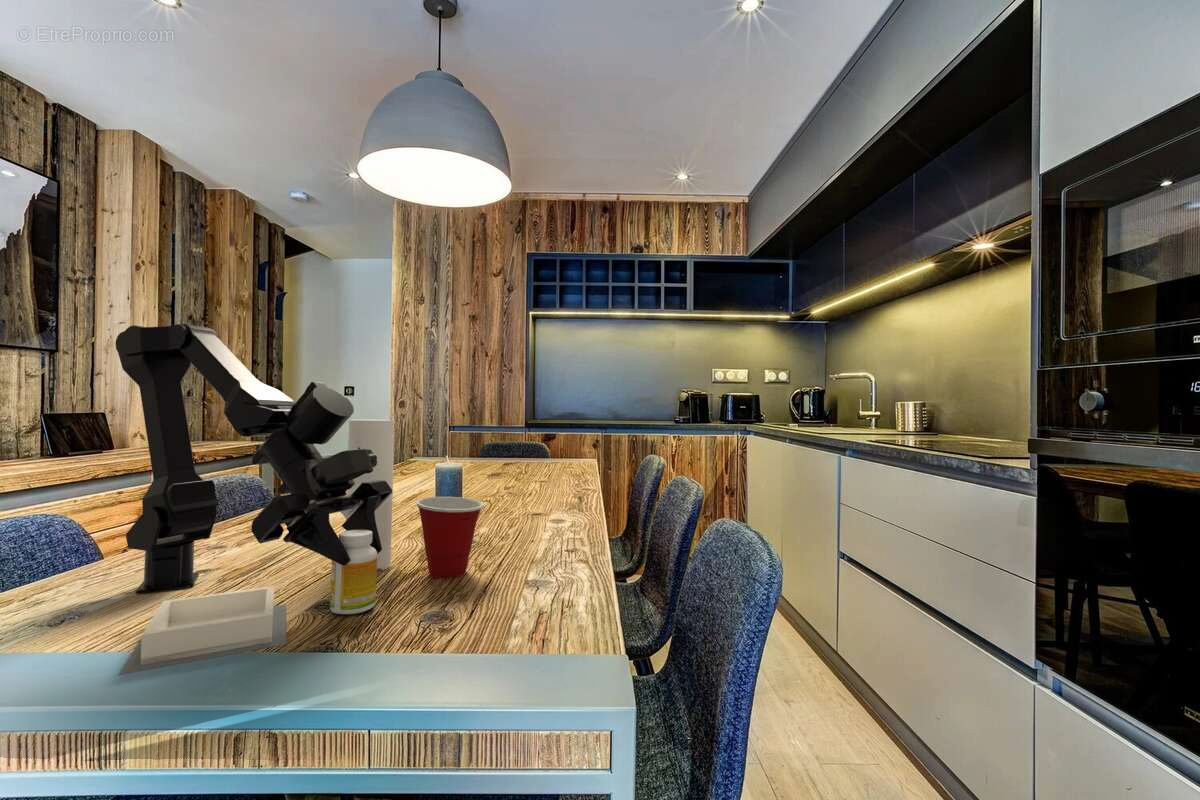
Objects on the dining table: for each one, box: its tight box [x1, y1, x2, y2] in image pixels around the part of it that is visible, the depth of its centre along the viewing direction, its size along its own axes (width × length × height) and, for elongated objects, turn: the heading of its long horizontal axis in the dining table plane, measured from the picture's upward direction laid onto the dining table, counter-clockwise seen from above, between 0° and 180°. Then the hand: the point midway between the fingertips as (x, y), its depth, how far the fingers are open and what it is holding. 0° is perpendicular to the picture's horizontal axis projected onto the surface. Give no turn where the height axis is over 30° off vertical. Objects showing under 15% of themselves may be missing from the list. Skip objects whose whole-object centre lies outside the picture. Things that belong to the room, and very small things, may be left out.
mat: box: [117, 604, 288, 676], centre depth 60 cm, size 14×14×1 cm
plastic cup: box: [416, 496, 485, 579], centre depth 86 cm, size 11×11×12 cm
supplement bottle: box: [329, 530, 378, 615], centre depth 68 cm, size 5×5×10 cm
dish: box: [141, 585, 275, 665], centre depth 60 cm, size 11×11×3 cm
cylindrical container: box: [345, 419, 395, 571], centre depth 89 cm, size 7×7×25 cm
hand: (363, 557), depth 68 cm, fingers closed on supplement bottle, 5 cm apart
